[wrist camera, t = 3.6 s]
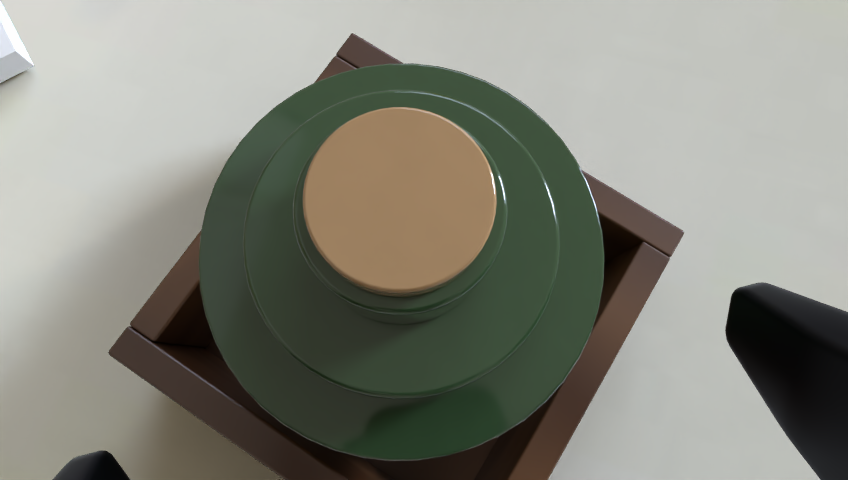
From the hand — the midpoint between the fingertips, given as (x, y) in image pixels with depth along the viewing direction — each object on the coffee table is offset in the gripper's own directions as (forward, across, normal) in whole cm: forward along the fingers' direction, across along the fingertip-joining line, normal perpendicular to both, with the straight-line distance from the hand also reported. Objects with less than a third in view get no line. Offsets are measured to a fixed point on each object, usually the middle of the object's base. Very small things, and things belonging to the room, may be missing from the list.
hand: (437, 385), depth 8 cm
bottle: (+8, 0, +5) cm, 9 cm away
